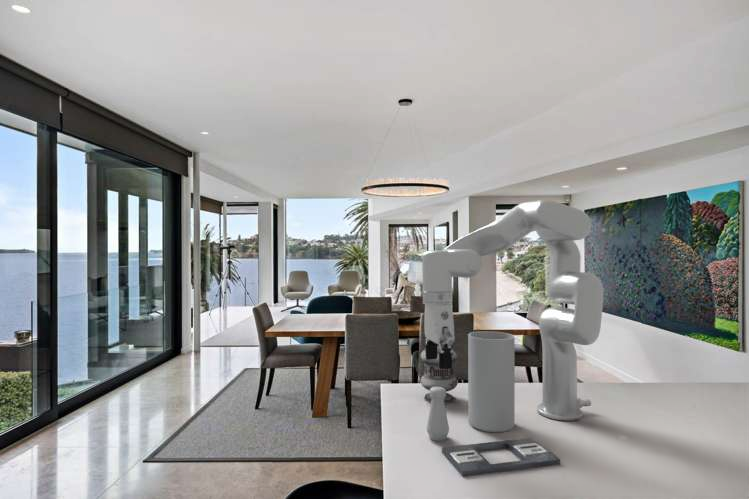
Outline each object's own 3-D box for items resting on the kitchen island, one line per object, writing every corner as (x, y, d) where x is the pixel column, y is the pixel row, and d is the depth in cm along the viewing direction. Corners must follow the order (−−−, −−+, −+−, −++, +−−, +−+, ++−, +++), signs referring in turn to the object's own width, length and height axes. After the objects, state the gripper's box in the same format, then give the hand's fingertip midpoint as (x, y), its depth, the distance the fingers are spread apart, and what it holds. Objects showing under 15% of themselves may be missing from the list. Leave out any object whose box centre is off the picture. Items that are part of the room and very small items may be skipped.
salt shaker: (448, 443, 113) (448, 392, 113) (425, 441, 115) (425, 390, 115) (449, 434, 119) (449, 385, 119) (428, 432, 120) (428, 384, 120)
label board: (530, 442, 114) (530, 436, 114) (560, 464, 103) (560, 457, 103) (441, 452, 109) (441, 446, 109) (462, 476, 97) (462, 469, 97)
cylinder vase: (483, 413, 135) (483, 329, 135) (522, 424, 126) (522, 335, 126) (459, 424, 126) (459, 335, 126) (499, 437, 117) (499, 341, 117)
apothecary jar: (421, 392, 155) (421, 339, 155) (456, 393, 153) (456, 340, 153) (420, 404, 143) (419, 347, 143) (458, 405, 141) (458, 348, 141)
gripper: (464, 301, 109) (465, 371, 109) (438, 294, 126) (439, 354, 126) (435, 302, 108) (436, 373, 108) (413, 295, 124) (413, 356, 125)
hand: (438, 363), depth 117 cm, fingers open, 9 cm apart
